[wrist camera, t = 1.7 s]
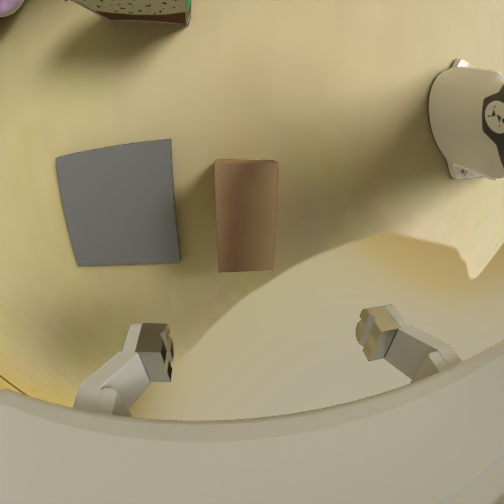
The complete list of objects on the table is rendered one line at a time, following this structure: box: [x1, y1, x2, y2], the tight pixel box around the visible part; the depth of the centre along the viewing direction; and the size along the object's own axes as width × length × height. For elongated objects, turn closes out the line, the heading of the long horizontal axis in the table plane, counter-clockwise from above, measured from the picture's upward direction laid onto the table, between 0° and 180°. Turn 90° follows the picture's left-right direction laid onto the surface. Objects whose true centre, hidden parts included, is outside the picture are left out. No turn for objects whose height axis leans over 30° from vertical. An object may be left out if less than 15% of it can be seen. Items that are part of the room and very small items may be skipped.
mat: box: [56, 139, 181, 266], centre depth 27 cm, size 14×14×1 cm
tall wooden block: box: [215, 159, 278, 272], centre depth 25 cm, size 5×9×9 cm, turn 179°
